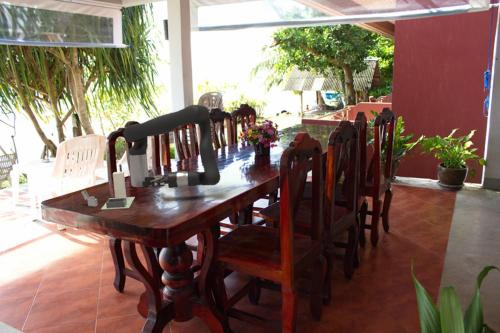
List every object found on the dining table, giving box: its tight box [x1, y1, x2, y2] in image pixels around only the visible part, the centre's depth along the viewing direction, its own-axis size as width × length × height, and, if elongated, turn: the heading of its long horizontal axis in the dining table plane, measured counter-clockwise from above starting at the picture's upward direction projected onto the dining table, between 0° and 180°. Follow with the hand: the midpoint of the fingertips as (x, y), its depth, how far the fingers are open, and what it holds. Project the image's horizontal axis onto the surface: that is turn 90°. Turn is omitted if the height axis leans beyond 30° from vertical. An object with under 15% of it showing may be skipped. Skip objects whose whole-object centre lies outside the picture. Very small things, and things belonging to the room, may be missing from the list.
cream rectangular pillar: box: [112, 163, 127, 199], centre depth 206 cm, size 3×4×17 cm, turn 96°
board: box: [101, 196, 135, 210], centre depth 202 cm, size 18×12×4 cm, turn 6°
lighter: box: [81, 189, 99, 207], centre depth 199 cm, size 7×2×8 cm, turn 69°
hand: (143, 181), depth 207 cm, fingers open, 8 cm apart
